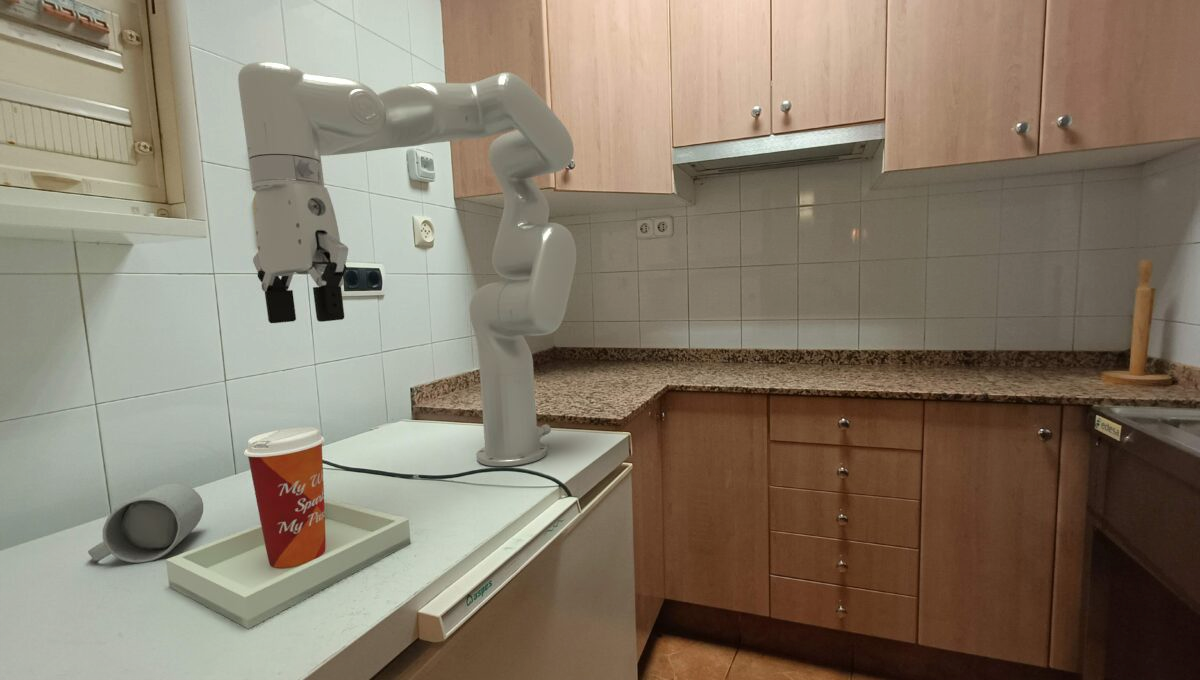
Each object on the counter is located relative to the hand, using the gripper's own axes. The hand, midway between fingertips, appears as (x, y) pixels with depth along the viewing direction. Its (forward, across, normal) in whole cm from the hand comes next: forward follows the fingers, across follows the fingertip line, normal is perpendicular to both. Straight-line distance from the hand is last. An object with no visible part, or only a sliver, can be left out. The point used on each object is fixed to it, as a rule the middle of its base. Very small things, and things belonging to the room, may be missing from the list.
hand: (306, 321), depth 65 cm
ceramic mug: (+27, +17, +13) cm, 34 cm away
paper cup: (+26, -4, +7) cm, 27 cm away
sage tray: (+27, -4, +7) cm, 28 cm away
